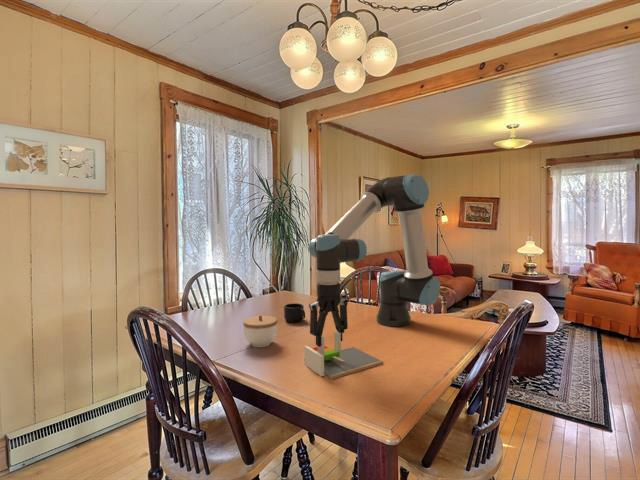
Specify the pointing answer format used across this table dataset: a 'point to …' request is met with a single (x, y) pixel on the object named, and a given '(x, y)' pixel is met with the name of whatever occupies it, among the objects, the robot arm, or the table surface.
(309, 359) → the word card
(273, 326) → the lidded bowl
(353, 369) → the slate board
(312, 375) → the table surface
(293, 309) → the mug
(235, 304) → the table surface
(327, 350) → the popsicle
